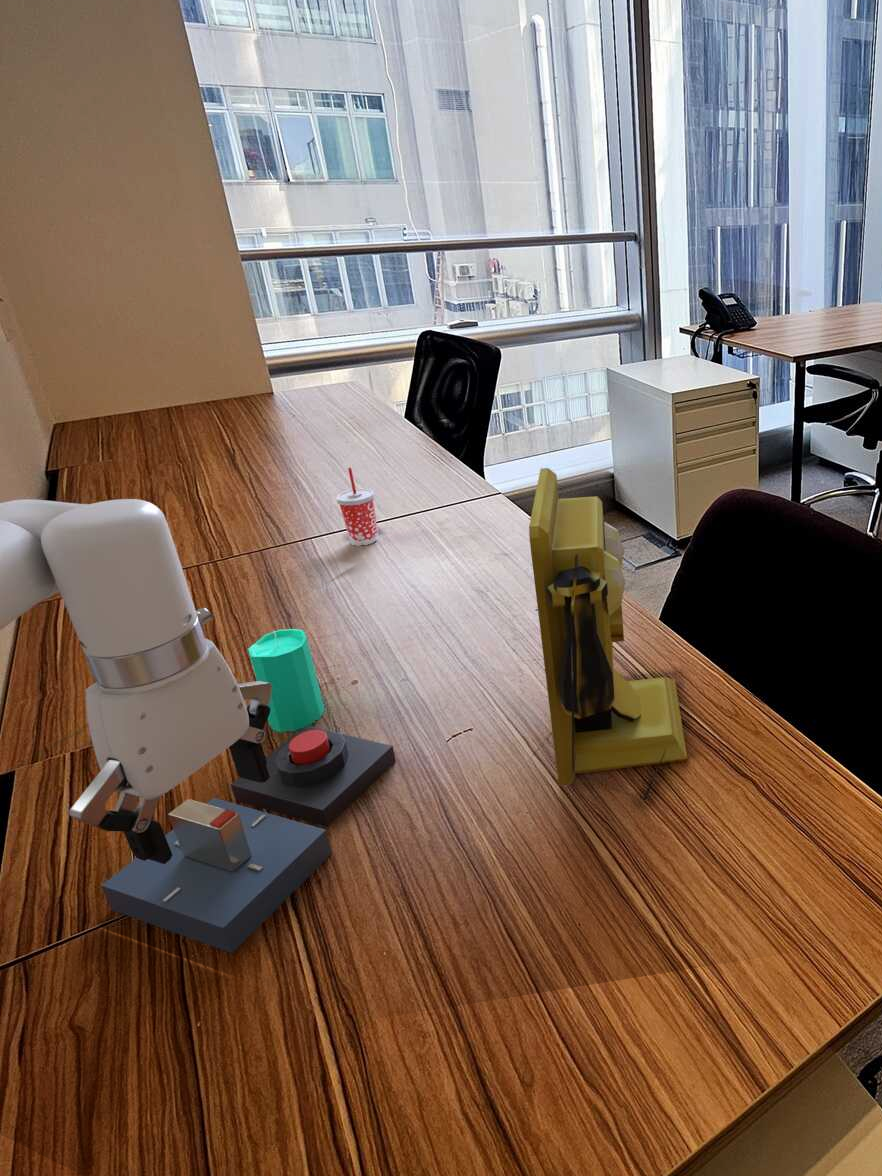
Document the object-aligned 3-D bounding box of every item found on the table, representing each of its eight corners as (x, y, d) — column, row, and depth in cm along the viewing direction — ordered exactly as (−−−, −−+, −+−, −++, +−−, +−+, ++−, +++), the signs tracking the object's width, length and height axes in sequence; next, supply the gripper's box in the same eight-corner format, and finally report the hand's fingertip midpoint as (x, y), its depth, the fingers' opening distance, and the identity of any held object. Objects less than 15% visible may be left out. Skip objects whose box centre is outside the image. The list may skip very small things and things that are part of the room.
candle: (309, 695, 98) (287, 612, 93) (334, 712, 95) (313, 627, 90) (259, 720, 93) (234, 634, 89) (284, 739, 90) (259, 651, 85)
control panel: (111, 910, 69) (100, 884, 68) (221, 820, 79) (213, 796, 77) (232, 953, 65) (222, 926, 64) (332, 853, 75) (325, 828, 73)
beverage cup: (365, 549, 137) (350, 475, 132) (338, 545, 139) (322, 471, 134) (390, 536, 142) (376, 464, 137) (363, 531, 144) (349, 460, 139)
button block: (235, 801, 81) (225, 770, 80) (310, 740, 90) (303, 712, 88) (327, 827, 78) (319, 796, 76) (396, 761, 86) (390, 732, 85)
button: (284, 761, 81) (280, 748, 81) (311, 739, 84) (307, 726, 84) (311, 768, 80) (307, 755, 80) (337, 746, 83) (334, 733, 83)
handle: (182, 856, 70) (166, 811, 69) (202, 840, 72) (187, 796, 70) (233, 872, 69) (218, 827, 67) (252, 855, 71) (238, 810, 69)
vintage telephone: (697, 825, 77) (688, 556, 66) (555, 844, 75) (520, 569, 64) (670, 653, 106) (660, 444, 95) (566, 663, 104) (544, 451, 93)
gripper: (210, 594, 71) (258, 744, 78) (-6, 708, 56) (76, 883, 62) (274, 605, 69) (318, 759, 75) (67, 727, 54) (144, 906, 60)
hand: (208, 815), depth 69 cm, fingers open, 9 cm apart
